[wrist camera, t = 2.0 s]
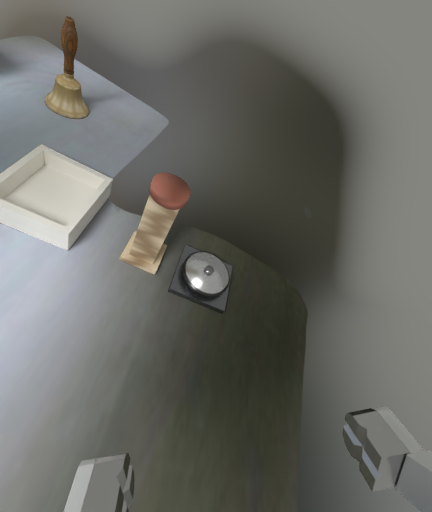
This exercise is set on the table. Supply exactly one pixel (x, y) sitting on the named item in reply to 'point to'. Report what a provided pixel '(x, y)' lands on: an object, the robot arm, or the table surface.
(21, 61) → the table surface
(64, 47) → the hand bell
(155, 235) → the beige red tall post
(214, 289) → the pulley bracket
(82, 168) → the tray
